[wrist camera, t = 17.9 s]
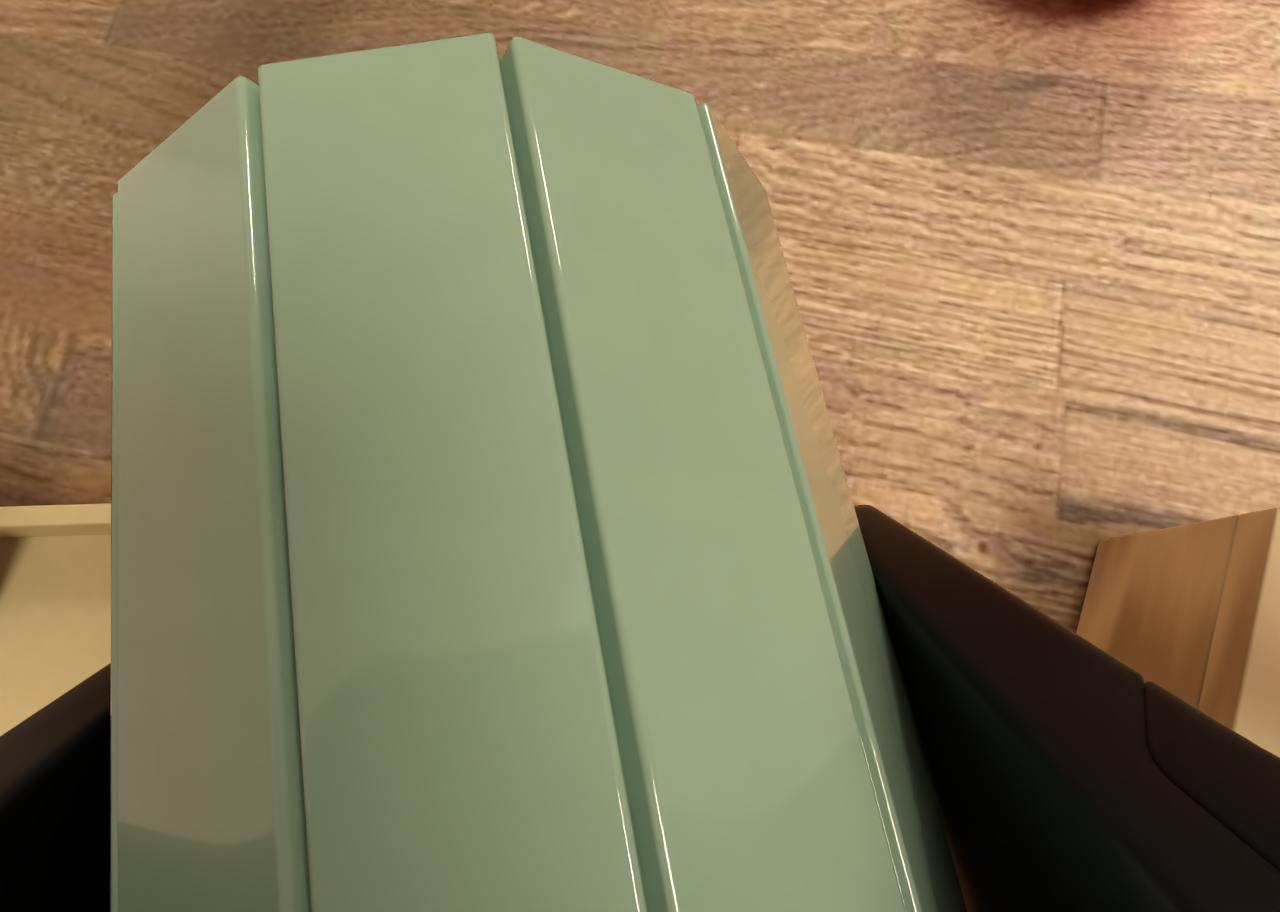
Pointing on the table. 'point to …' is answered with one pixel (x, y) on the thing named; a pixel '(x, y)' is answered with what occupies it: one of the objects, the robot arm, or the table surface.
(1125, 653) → the wooden block
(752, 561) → the grooved sage-green cylinder
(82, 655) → the tray
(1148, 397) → the table surface
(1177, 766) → the robot arm
